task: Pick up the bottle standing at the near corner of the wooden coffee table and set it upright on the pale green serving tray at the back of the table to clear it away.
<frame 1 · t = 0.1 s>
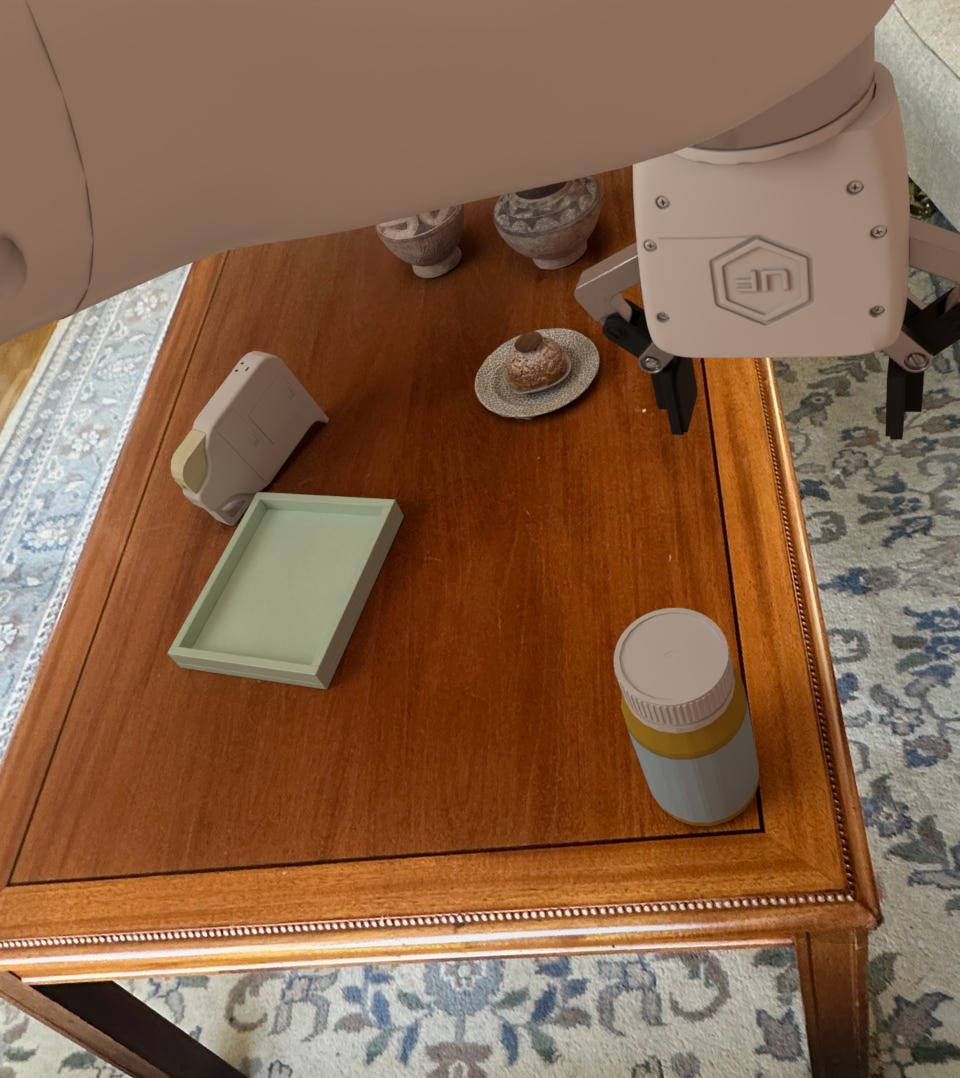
hand: (786, 415, 47), 25 cm above the table, tool pointing down, fingers open, 9 cm apart
pottery: (500, 259, 107), on the table
tray: (294, 590, 84), on the table
light grey boxy piece: (272, 474, 95), on the table
woman figurine: (584, 142, 117), on the table
bottle: (704, 779, 63), on the table
pastry: (539, 381, 92), on the table
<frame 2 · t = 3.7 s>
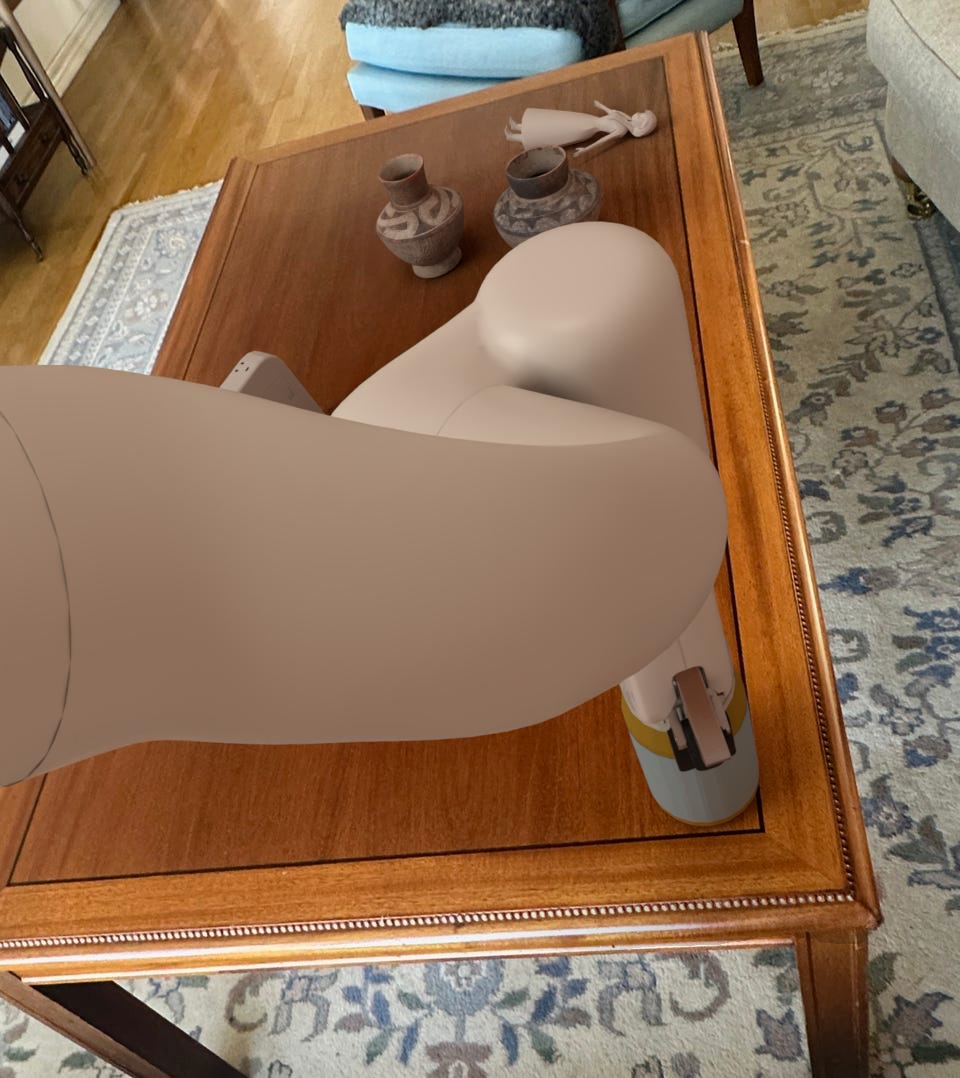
hand: (682, 699, 56), 10 cm above the table, tool pointing down, fingers closed on bottle, 7 cm apart
bottle: (704, 779, 63), on the table, touching gripper
everything else where it was.
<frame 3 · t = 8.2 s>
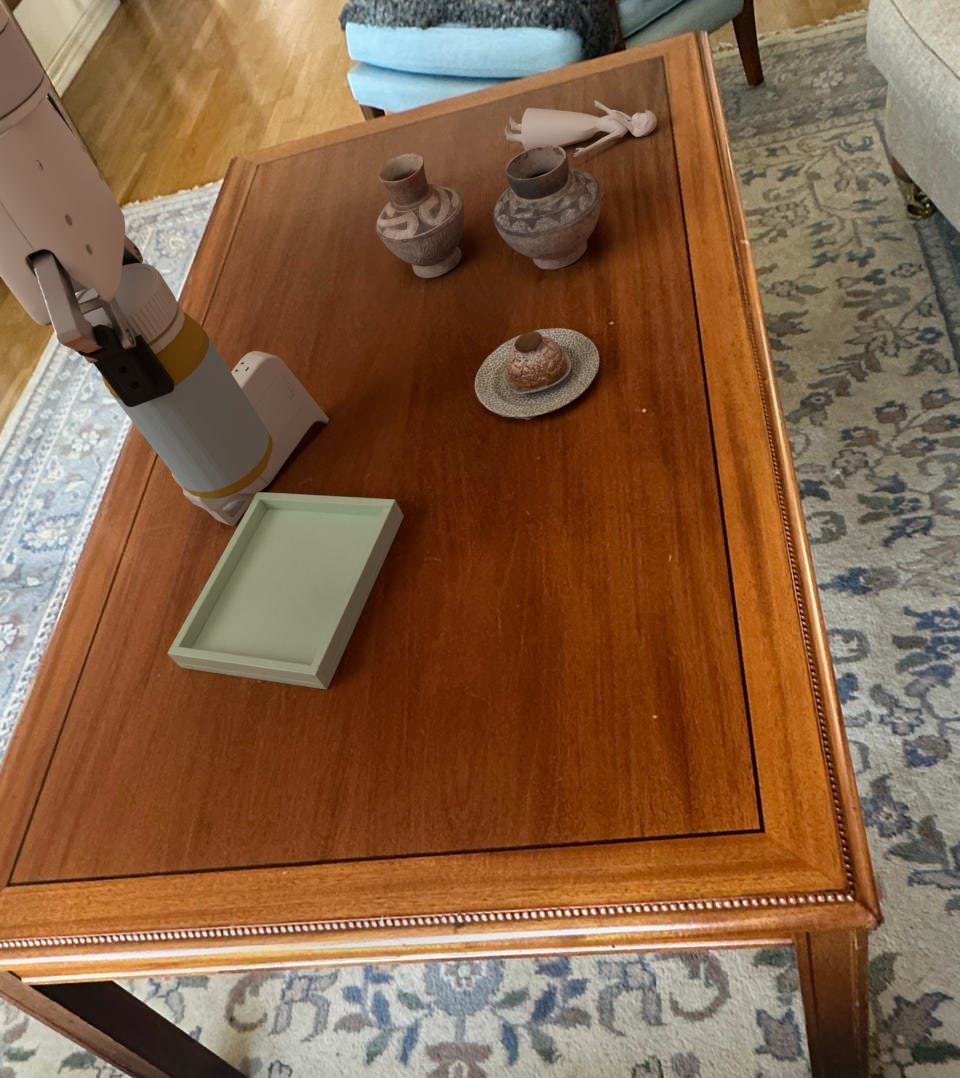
hand: (153, 357, 62), 28 cm above the table, tool pointing down, fingers closed on bottle, 7 cm apart
bottle: (232, 468, 69), point 17 cm above the table, touching gripper
everything else where it was.
when the fingers open (11 cm above the table, at t = 12.8 s): bottle stays where it is, resting on tray.
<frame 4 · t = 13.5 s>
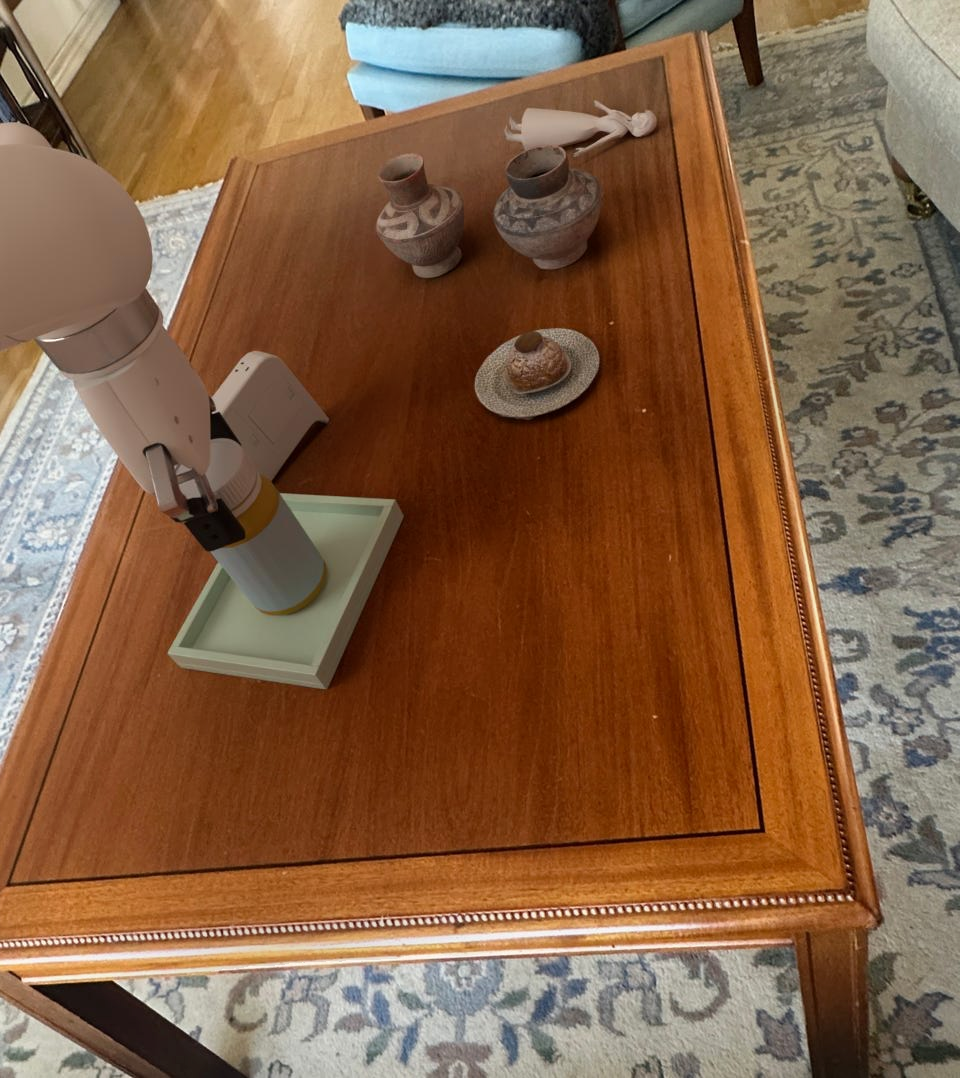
hand: (226, 497, 75), 12 cm above the table, tool pointing down, fingers open, 9 cm apart
bottle: (292, 587, 84), point 1 cm above the table, touching tray
everything else where it was.
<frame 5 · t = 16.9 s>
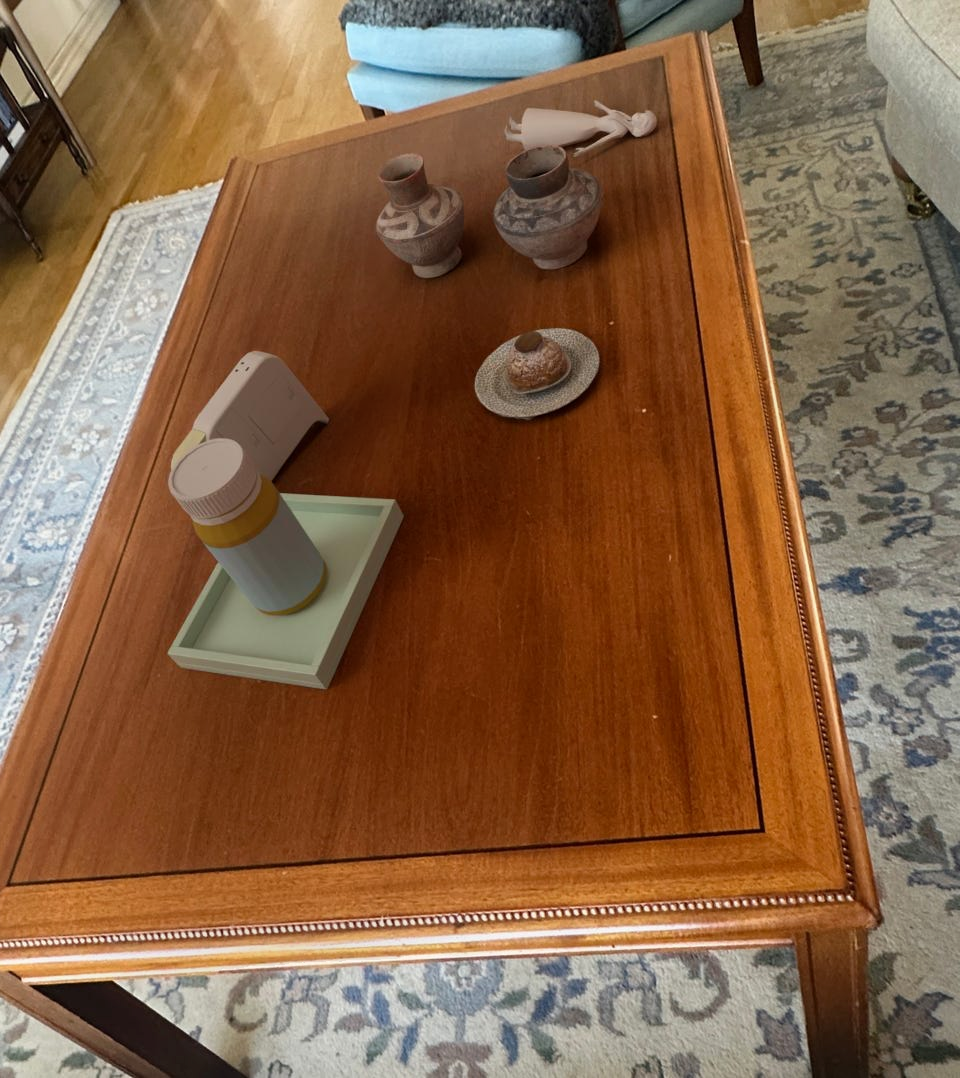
nothing on the table moved.
at the end: bottle inside the target area in the tray (0.1 cm from its centre), point 0.6 cm above the tray's base; bottle tilted 0°; the gripper is holding nothing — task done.
